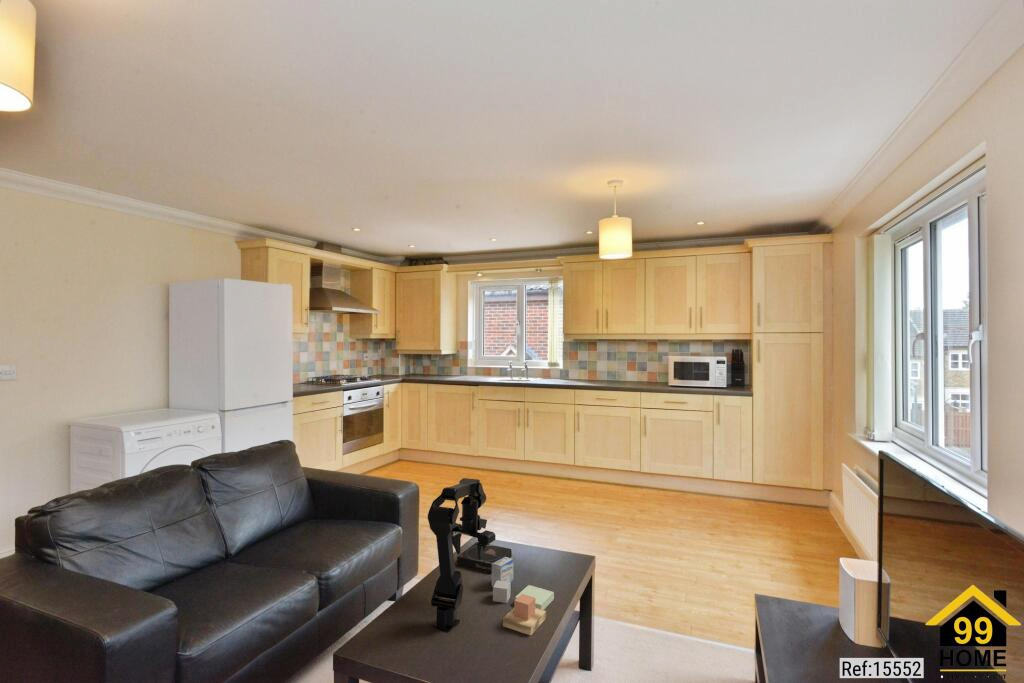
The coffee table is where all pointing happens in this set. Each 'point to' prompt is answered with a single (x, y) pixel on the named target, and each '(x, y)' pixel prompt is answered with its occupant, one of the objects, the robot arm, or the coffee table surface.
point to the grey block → (501, 591)
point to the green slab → (538, 596)
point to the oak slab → (524, 621)
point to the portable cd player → (489, 556)
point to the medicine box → (502, 570)
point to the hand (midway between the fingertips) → (469, 557)
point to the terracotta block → (524, 607)
